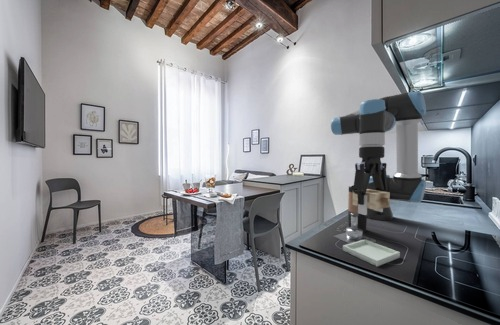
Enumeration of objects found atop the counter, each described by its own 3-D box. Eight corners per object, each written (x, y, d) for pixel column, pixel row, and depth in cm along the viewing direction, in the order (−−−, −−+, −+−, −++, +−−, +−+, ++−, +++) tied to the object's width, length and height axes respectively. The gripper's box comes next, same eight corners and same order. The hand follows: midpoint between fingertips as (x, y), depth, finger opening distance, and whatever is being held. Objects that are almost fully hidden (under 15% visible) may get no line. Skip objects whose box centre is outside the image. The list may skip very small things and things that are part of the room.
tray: (364, 243, 81) (364, 239, 81) (399, 257, 70) (399, 252, 70) (342, 250, 75) (342, 245, 75) (377, 266, 64) (377, 260, 64)
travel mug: (369, 233, 91) (369, 188, 91) (350, 232, 93) (351, 187, 92) (363, 227, 99) (364, 185, 98) (346, 226, 100) (346, 185, 100)
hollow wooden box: (366, 202, 77) (367, 189, 77) (393, 207, 69) (393, 192, 69) (352, 204, 74) (352, 190, 73) (378, 210, 65) (378, 194, 65)
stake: (351, 232, 93) (351, 208, 92) (375, 241, 83) (376, 215, 82) (333, 237, 88) (333, 212, 87) (357, 247, 78) (357, 219, 77)
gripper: (379, 147, 79) (378, 206, 80) (341, 146, 70) (340, 213, 70) (400, 146, 73) (399, 211, 73) (362, 145, 63) (361, 219, 64)
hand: (370, 212), depth 72 cm, fingers closed on hollow wooden box, 8 cm apart
